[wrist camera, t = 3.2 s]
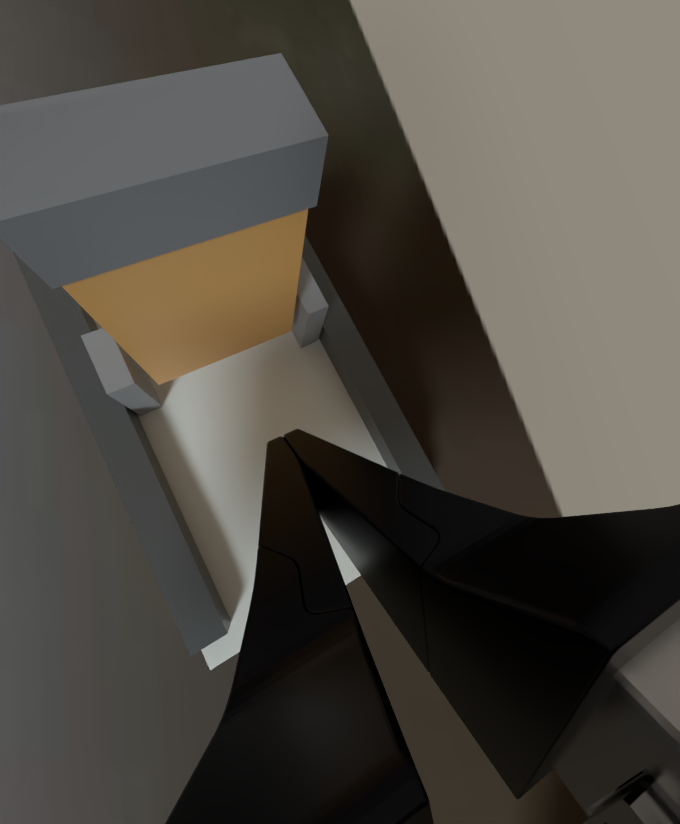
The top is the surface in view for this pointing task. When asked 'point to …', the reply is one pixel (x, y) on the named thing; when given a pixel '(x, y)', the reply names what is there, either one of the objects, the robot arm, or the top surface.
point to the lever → (168, 205)
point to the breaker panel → (225, 442)
